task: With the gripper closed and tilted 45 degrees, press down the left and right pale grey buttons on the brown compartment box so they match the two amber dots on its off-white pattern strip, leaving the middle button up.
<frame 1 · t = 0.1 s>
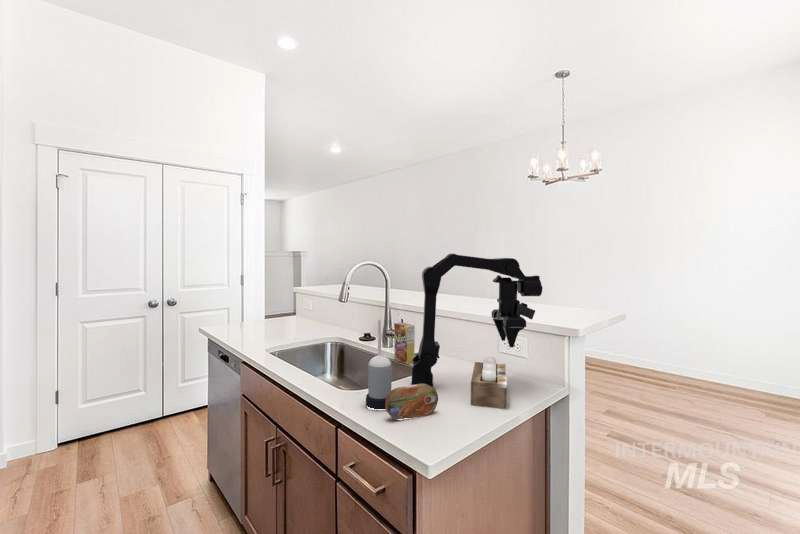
hand: (507, 343, 124), 15 cm above the table, tool pointing down, fingers open, 9 cm apart
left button: (489, 365, 125), point 7 cm above the table, slide at 0.0 cm
middle button: (489, 371, 118), point 7 cm above the table, slide at 0.0 cm
tin: (411, 416, 103), on the table
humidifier: (379, 405, 110), on the table
right button: (488, 378, 112), point 7 cm above the table, slide at 0.0 cm
candy box: (404, 361, 154), on the table
brown compartment box: (489, 394, 119), on the table
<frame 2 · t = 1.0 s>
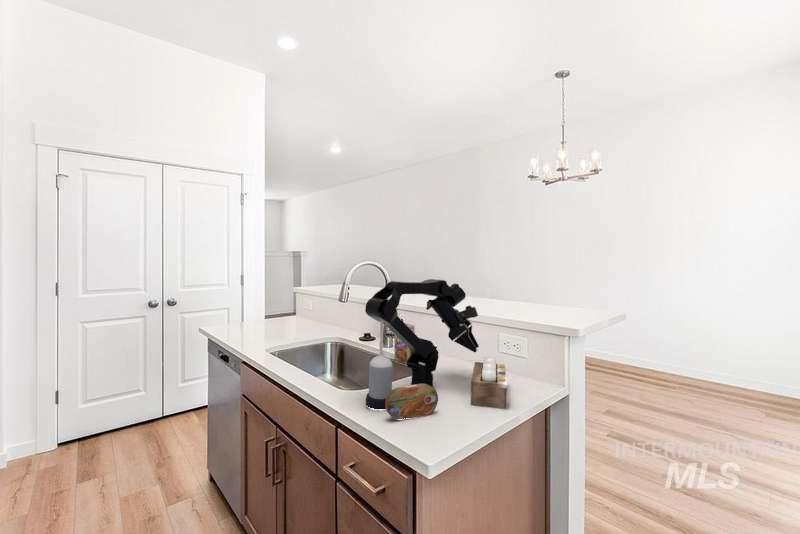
hand: (476, 349, 125), 12 cm above the table, tool tilted 40°, fingers open, 8 cm apart
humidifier: (379, 405, 110), on the table, touching arm
everything else where it was.
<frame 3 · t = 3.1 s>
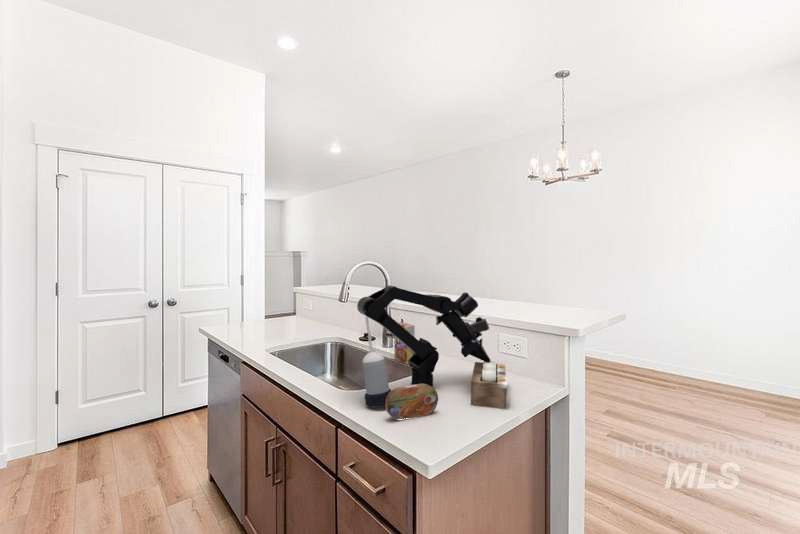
hand: (489, 361, 125), 8 cm above the table, tool tilted 45°, fingers closed, pressing on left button
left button: (489, 369, 125), point 6 cm above the table, slide at 1.4 cm, touching gripper
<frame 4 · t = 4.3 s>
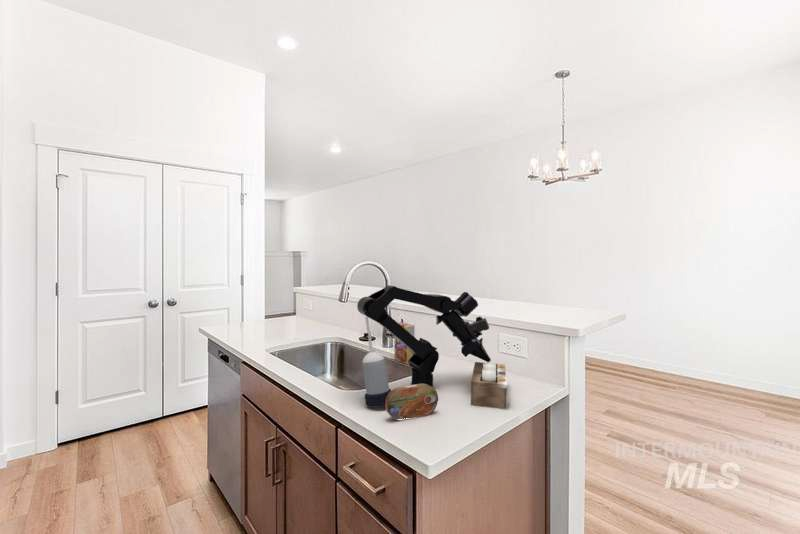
hand: (489, 361, 125), 9 cm above the table, tool tilted 45°, fingers closed
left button: (489, 371, 125), point 5 cm above the table, slide at 2.2 cm
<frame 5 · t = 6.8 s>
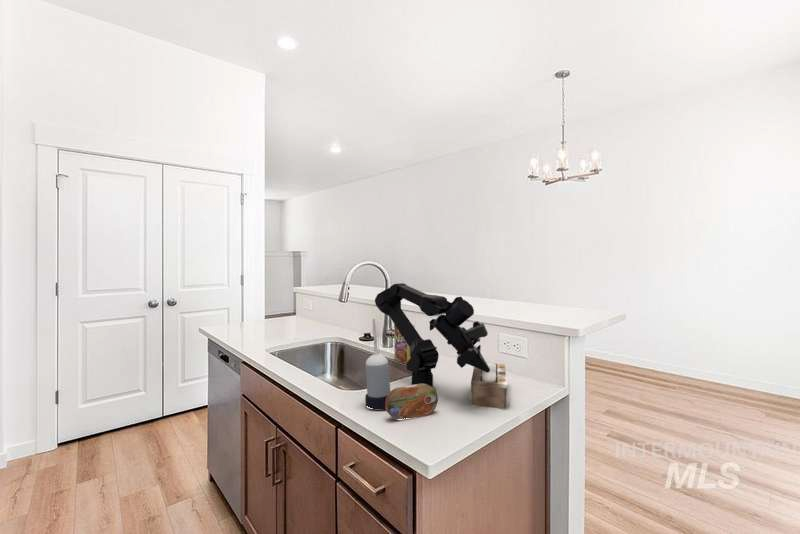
hand: (489, 371, 112), 9 cm above the table, tool tilted 45°, fingers closed, pressing on right button
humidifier: (379, 405, 110), on the table
right button: (488, 379, 112), point 7 cm above the table, slide at 0.4 cm, touching gripper
everything else where it was.
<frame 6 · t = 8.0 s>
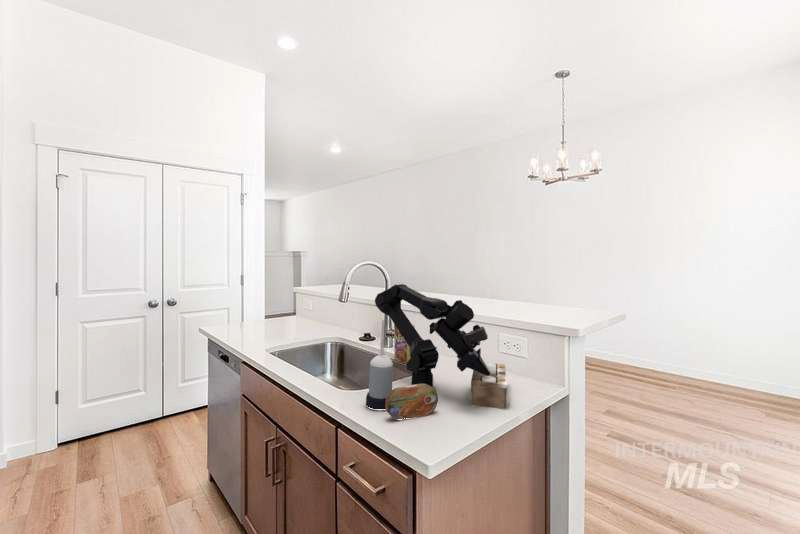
hand: (489, 374, 112), 8 cm above the table, tool tilted 45°, fingers closed
right button: (488, 385, 112), point 5 cm above the table, slide at 2.2 cm
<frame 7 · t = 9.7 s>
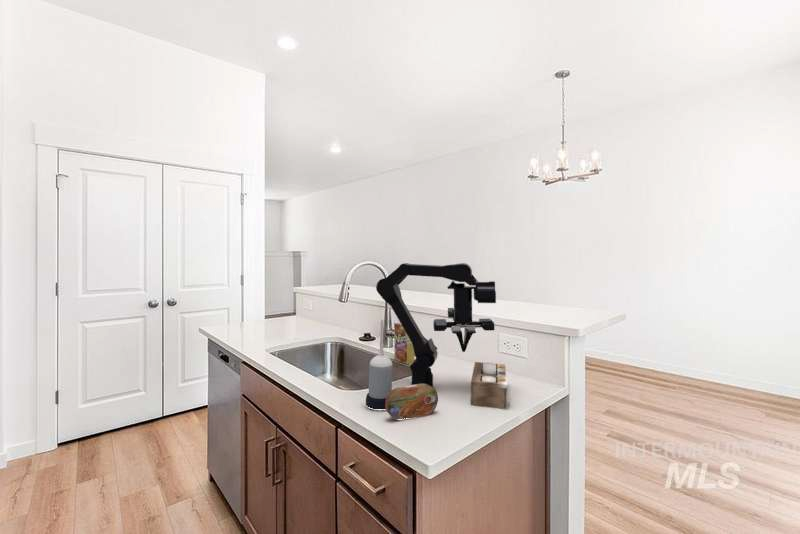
hand: (463, 351, 120), 13 cm above the table, tool pointing down, fingers closed
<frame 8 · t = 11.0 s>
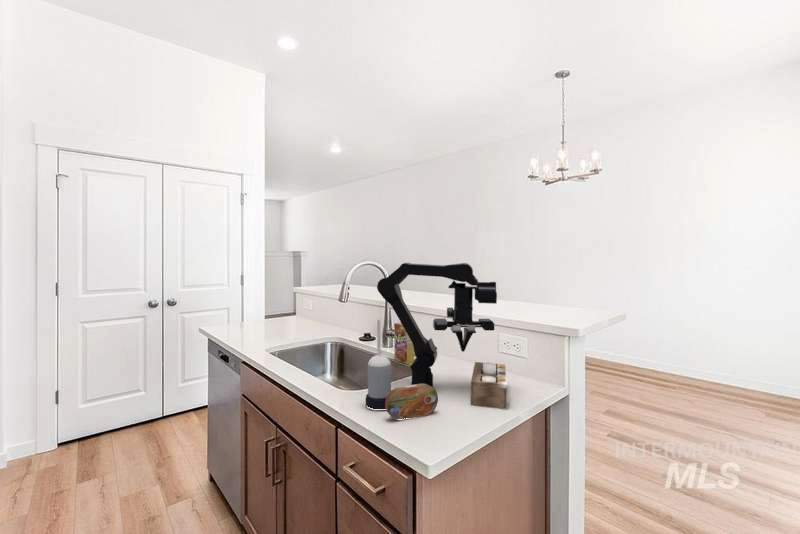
hand: (462, 351, 120), 13 cm above the table, tool pointing down, fingers closed
at the end: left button slide at 2.2 cm; right button slide at 2.2 cm; middle button slide at 0.0 cm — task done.
